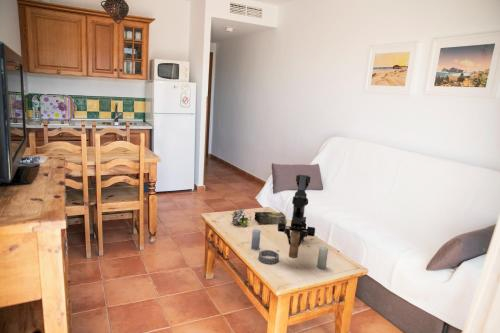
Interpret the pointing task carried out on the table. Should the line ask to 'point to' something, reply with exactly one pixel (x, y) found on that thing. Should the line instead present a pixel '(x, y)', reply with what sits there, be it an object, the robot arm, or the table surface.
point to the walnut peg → (294, 244)
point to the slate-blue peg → (255, 239)
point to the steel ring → (268, 260)
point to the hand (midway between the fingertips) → (294, 245)
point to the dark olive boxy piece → (270, 217)
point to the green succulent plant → (240, 217)
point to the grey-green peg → (322, 257)
